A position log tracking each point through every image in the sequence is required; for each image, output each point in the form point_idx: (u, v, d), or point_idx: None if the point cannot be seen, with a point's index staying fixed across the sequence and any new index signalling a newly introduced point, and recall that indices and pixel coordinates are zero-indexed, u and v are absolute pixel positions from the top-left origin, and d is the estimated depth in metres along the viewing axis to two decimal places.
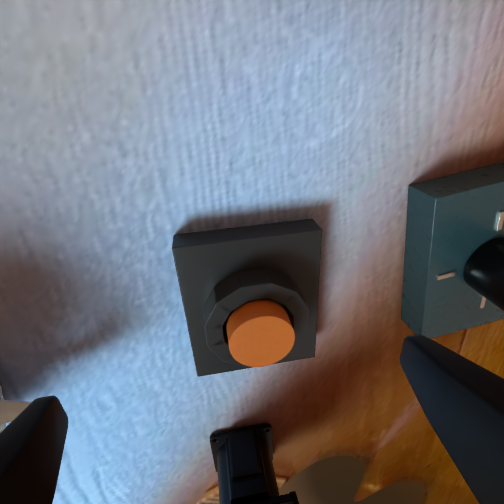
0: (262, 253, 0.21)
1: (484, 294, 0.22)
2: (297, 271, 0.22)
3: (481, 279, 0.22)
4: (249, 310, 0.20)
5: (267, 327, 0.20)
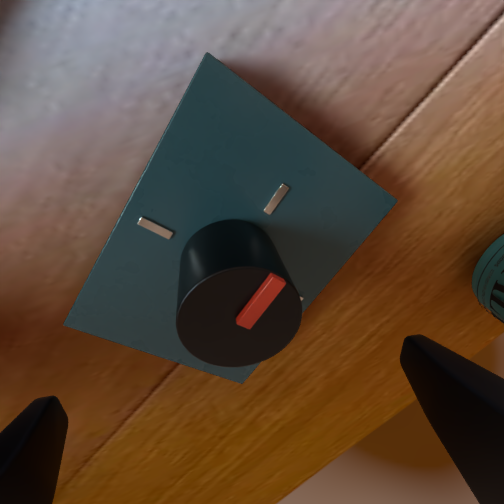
0: None
1: (178, 285, 0.12)
2: None
3: (189, 256, 0.12)
4: None
5: None
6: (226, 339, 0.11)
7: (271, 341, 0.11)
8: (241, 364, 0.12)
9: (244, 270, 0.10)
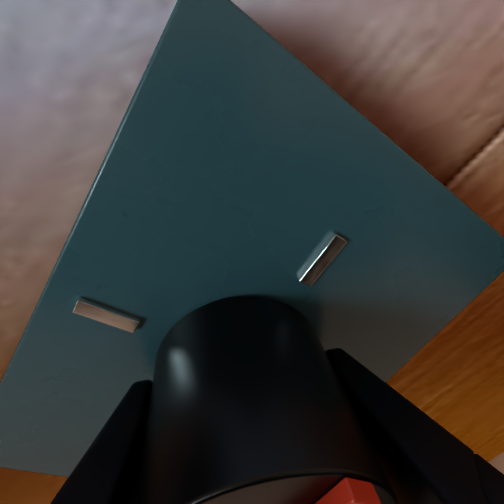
0: None
1: (145, 435, 0.06)
2: None
3: (165, 382, 0.06)
4: None
5: None
6: None
7: None
8: None
9: (284, 481, 0.04)
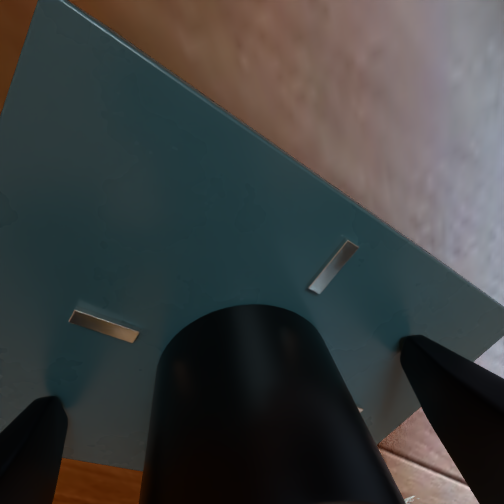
0: None
1: (146, 453, 0.06)
2: None
3: (166, 398, 0.06)
4: None
5: None
6: None
7: None
8: None
9: None
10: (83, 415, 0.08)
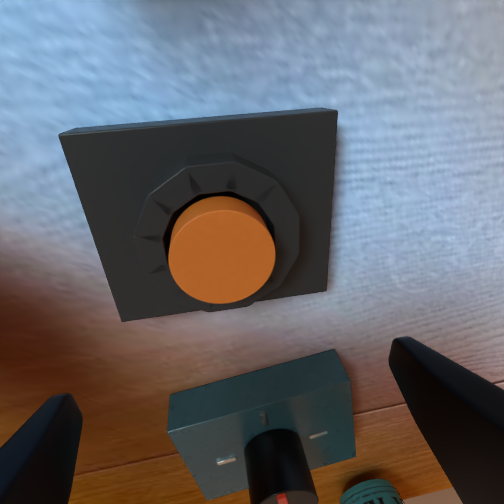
0: (308, 231, 0.17)
1: None
2: None
3: (247, 476, 0.22)
4: None
5: (254, 264, 0.13)
6: None
7: None
8: None
9: (265, 501, 0.19)
10: (243, 477, 0.25)
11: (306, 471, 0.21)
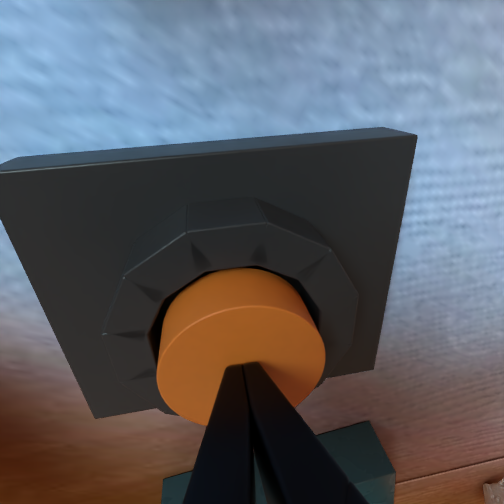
0: (357, 299, 0.12)
1: None
2: None
3: None
4: None
5: (291, 375, 0.08)
6: None
7: None
8: None
9: None
10: None
11: None
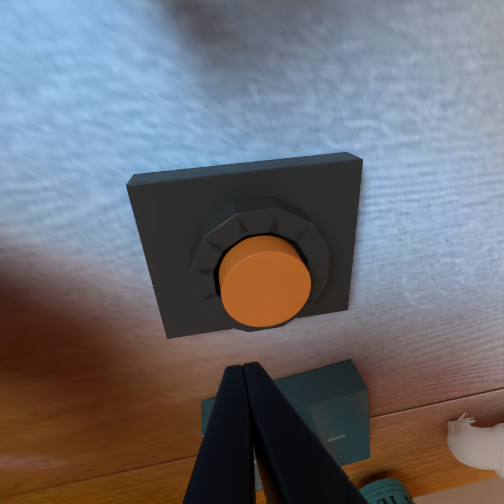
0: (333, 259, 0.19)
1: None
2: None
3: None
4: None
5: (292, 294, 0.15)
6: None
7: None
8: None
9: None
10: None
11: None
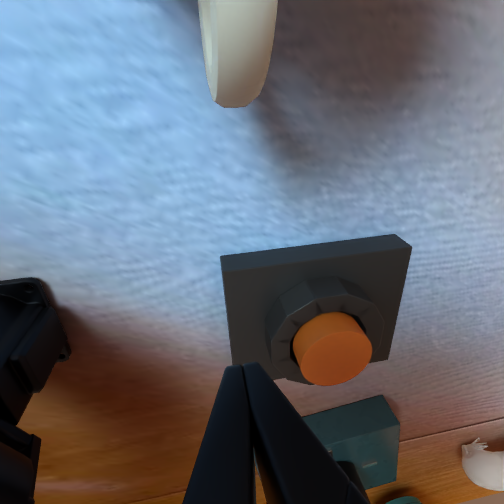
0: None
1: None
2: None
3: None
4: None
5: (356, 360, 0.19)
6: None
7: None
8: None
9: None
10: None
11: (366, 497, 0.26)
